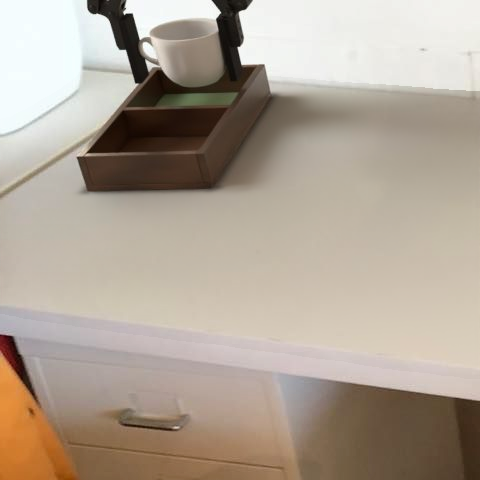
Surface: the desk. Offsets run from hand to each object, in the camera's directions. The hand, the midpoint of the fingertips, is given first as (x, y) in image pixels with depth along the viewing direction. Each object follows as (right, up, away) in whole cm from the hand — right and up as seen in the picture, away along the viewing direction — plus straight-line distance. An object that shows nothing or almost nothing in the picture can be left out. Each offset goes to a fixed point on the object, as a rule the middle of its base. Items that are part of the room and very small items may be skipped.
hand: (189, 78), depth 143 cm
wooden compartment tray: (0, -7, -1) cm, 8 cm away
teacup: (0, 0, 0) cm, 0 cm away
